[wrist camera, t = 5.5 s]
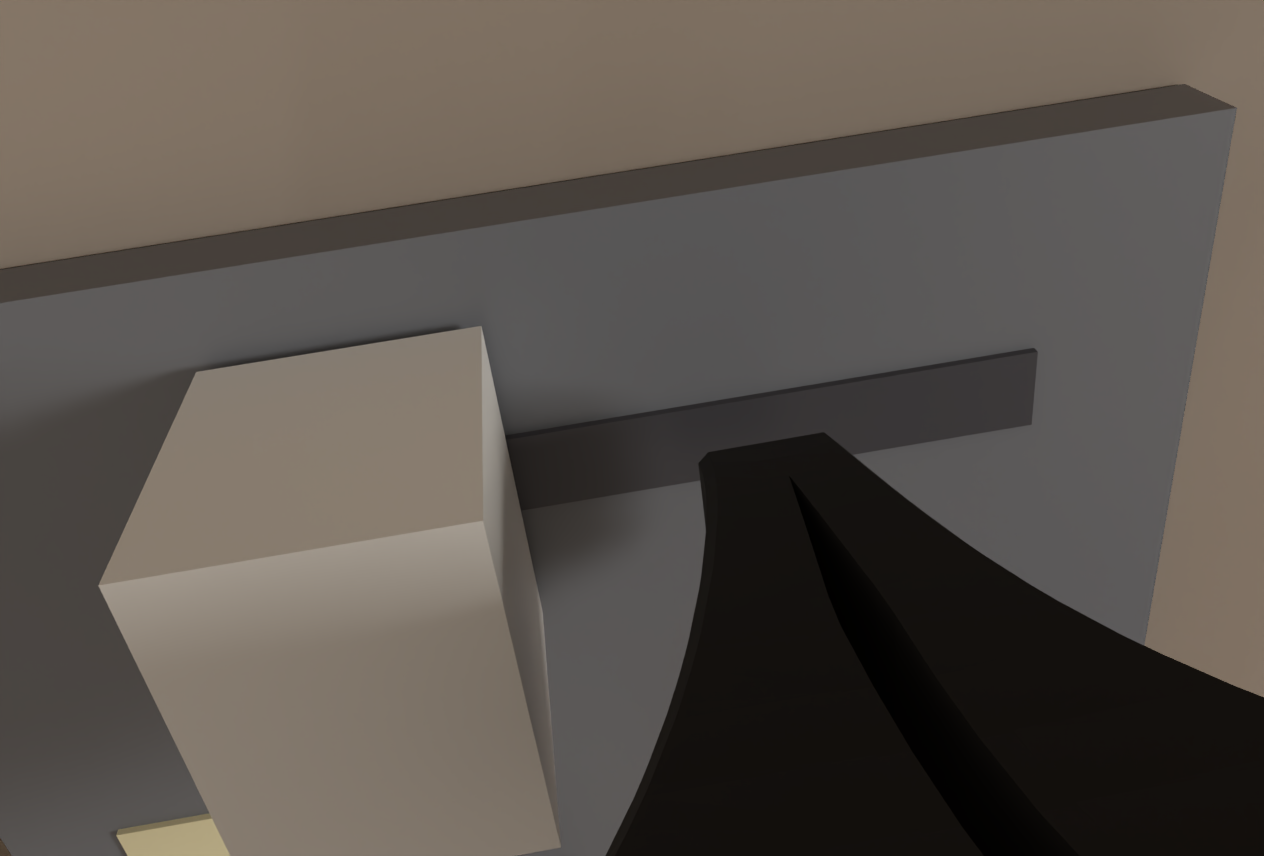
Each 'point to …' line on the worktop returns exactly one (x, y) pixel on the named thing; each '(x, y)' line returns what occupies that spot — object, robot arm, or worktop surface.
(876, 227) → the breaker panel
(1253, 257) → the worktop surface
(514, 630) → the handle
